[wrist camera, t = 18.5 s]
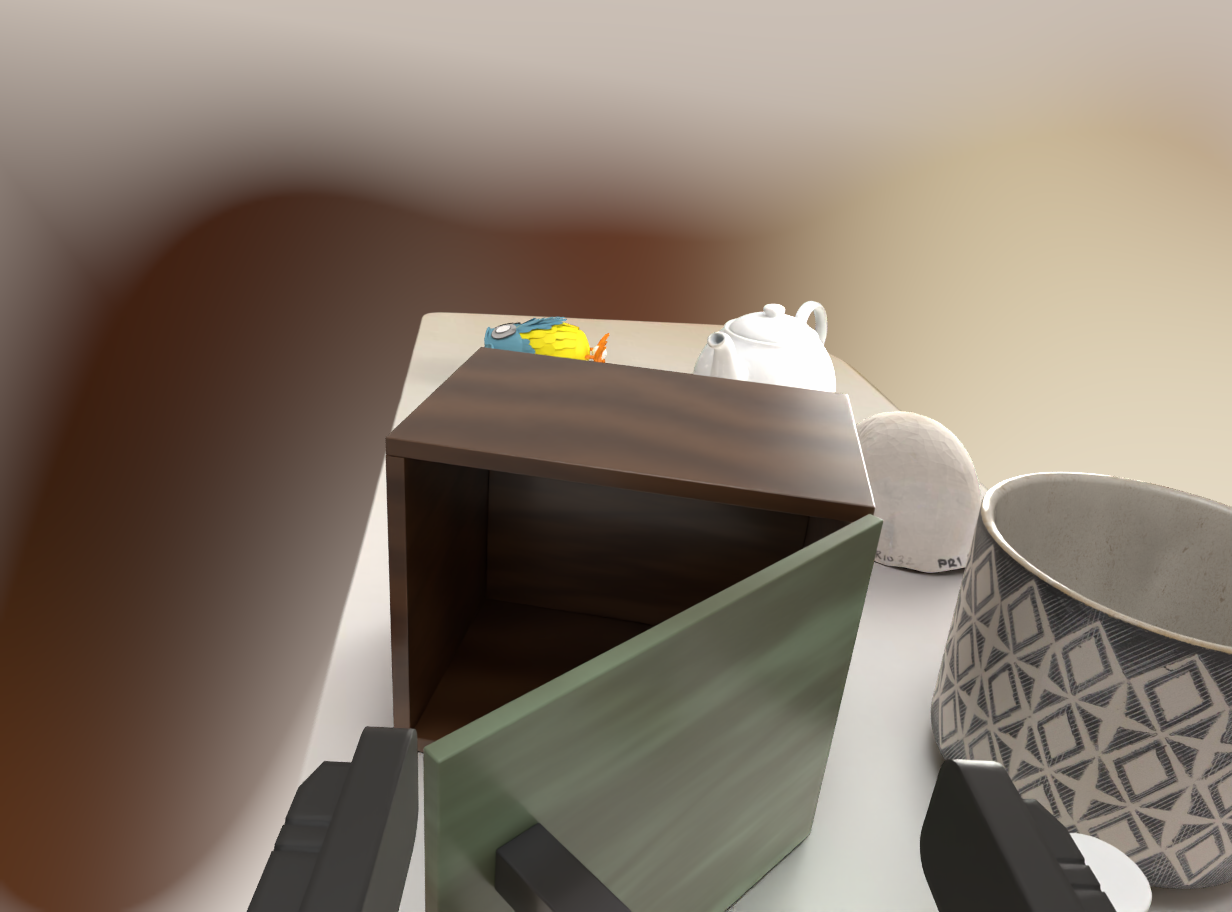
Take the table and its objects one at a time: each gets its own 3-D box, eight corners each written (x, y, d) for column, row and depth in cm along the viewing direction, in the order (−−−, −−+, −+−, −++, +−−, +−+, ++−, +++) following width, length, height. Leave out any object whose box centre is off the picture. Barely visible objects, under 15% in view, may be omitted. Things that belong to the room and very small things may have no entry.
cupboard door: (907, 906, 44) (1010, 575, 36) (541, 1326, 29) (579, 906, 21) (798, 825, 49) (869, 512, 41) (427, 1151, 33) (422, 746, 25)
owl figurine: (600, 356, 94) (461, 346, 95) (596, 430, 98) (462, 420, 98) (615, 294, 120) (505, 286, 120) (612, 354, 123) (505, 347, 124)
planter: (1226, 734, 59) (1327, 519, 52) (1306, 980, 43) (1469, 714, 36) (930, 649, 65) (986, 447, 58) (901, 834, 49) (974, 584, 42)
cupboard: (803, 822, 49) (875, 507, 41) (394, 747, 52) (384, 437, 43) (795, 652, 63) (848, 393, 55) (476, 600, 66) (480, 346, 58)
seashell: (881, 554, 92) (818, 427, 91) (1016, 513, 84) (950, 374, 83) (848, 622, 79) (775, 475, 78) (1004, 581, 72) (925, 417, 70)
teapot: (855, 447, 100) (880, 331, 94) (696, 438, 98) (712, 321, 93) (813, 390, 117) (832, 289, 111) (677, 382, 115) (689, 280, 110)
